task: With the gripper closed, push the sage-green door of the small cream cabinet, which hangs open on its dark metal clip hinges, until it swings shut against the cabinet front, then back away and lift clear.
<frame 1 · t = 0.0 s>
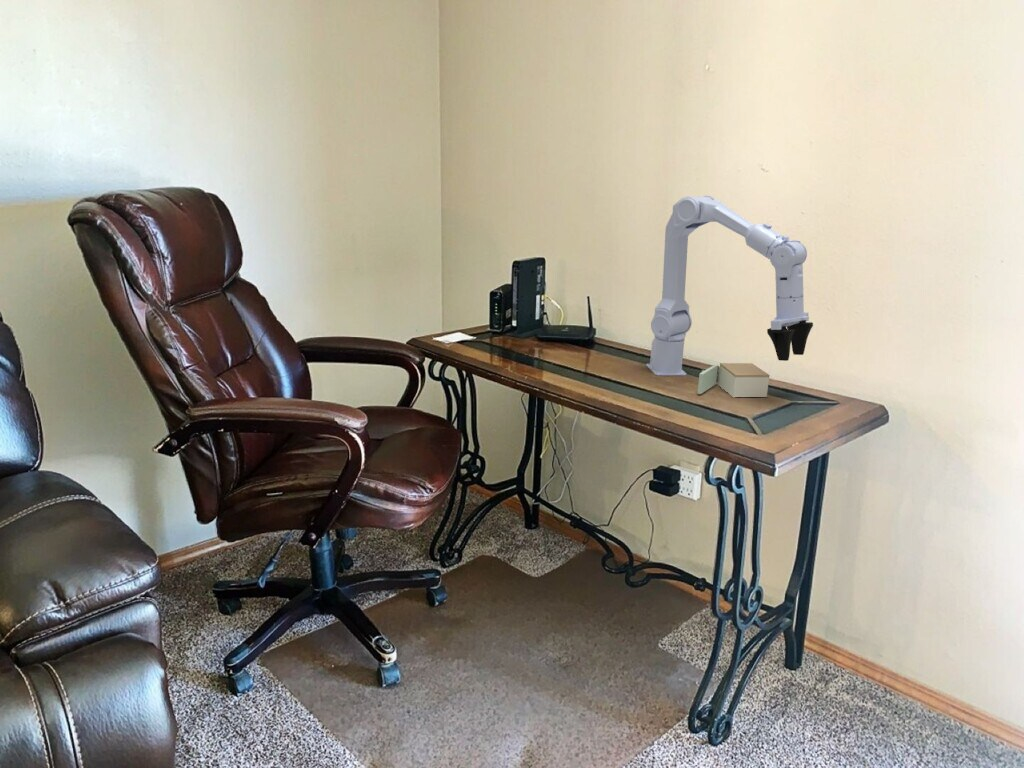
hand: (791, 357, 177), 10 cm above the table, tool pointing down, fingers open, 7 cm apart
door: (708, 378, 185), point 3 cm above the table, hinge at 40.0°
cabinet: (741, 391, 186), on the table
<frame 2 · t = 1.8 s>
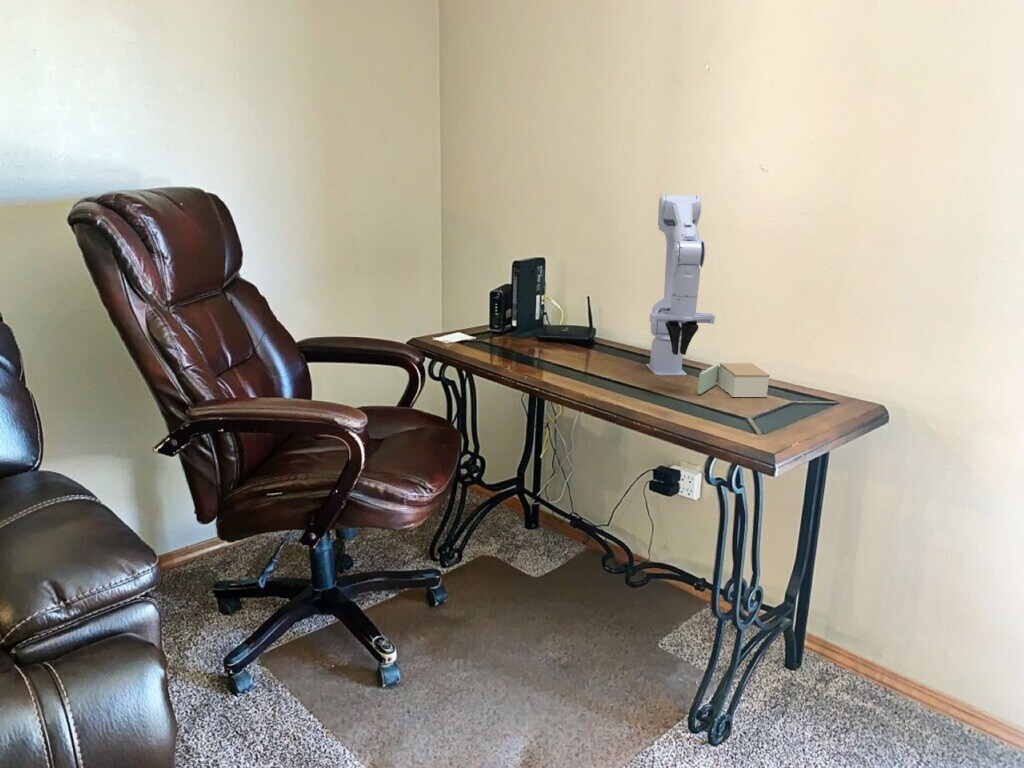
hand: (678, 353, 180), 9 cm above the table, tool pointing down, fingers closed
nothing on the table moved.
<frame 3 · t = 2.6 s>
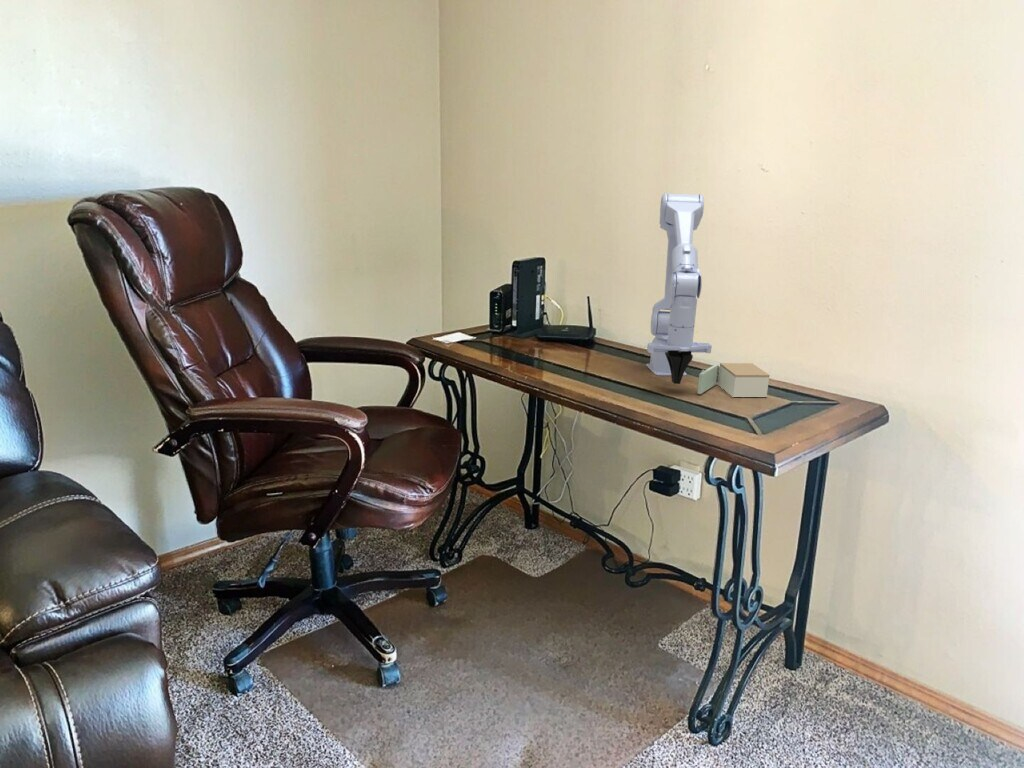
hand: (675, 382, 182), 2 cm above the table, tool pointing down, fingers closed
nothing on the table moved.
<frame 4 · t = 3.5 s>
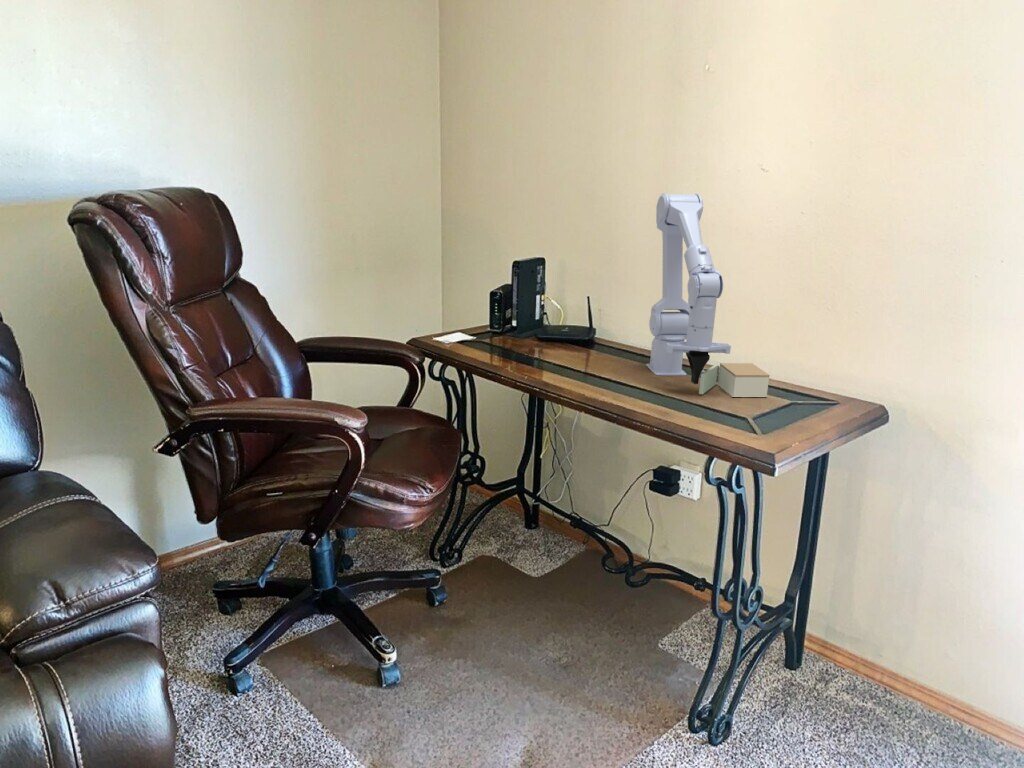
hand: (694, 382, 183), 2 cm above the table, tool pointing down, fingers closed
door: (709, 378, 185), point 3 cm above the table, hinge at 37.8°, touching gripper
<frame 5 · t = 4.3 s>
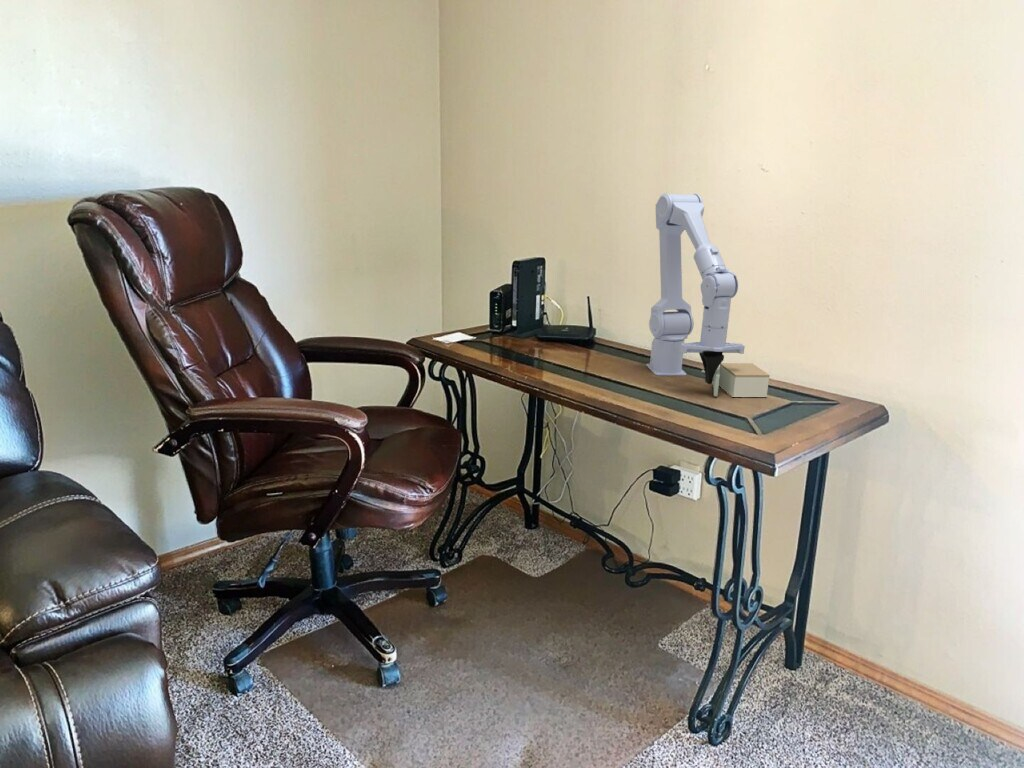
hand: (708, 382, 183), 2 cm above the table, tool pointing down, fingers closed
door: (716, 379, 185), point 3 cm above the table, hinge at 19.3°, touching gripper
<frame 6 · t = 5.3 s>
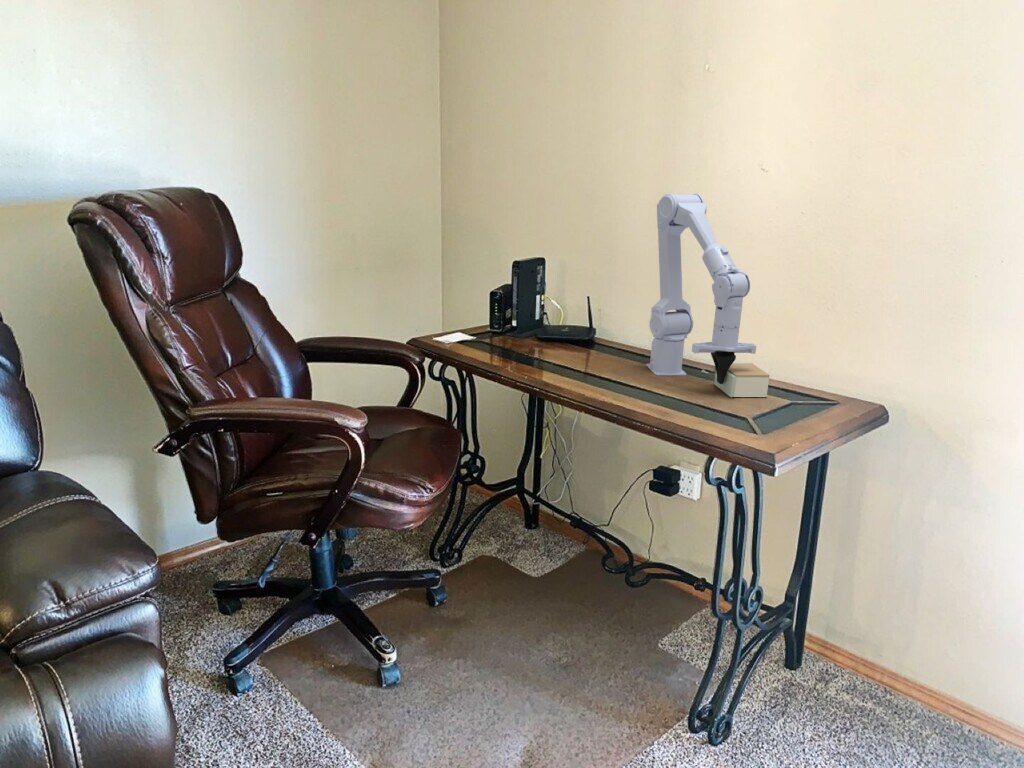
hand: (720, 382, 183), 2 cm above the table, tool pointing down, fingers closed
door: (724, 380, 185), point 3 cm above the table, hinge at -1.5°, touching gripper
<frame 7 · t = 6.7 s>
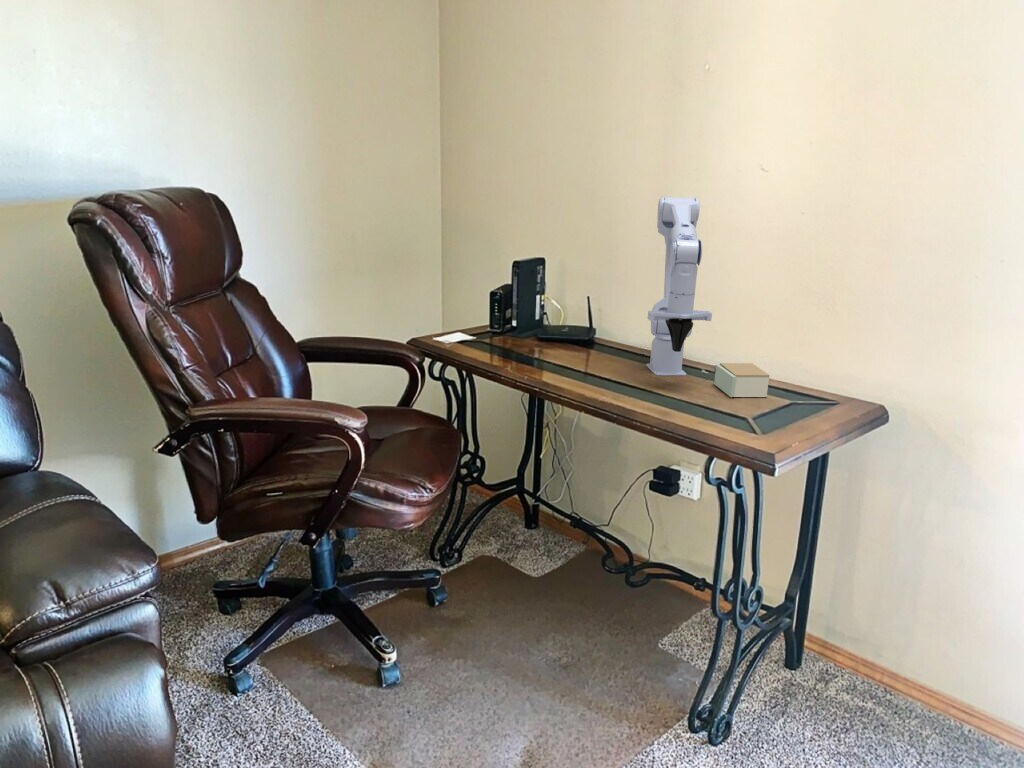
hand: (676, 350, 183), 9 cm above the table, tool pointing down, fingers closed
door: (724, 380, 185), point 3 cm above the table, hinge at -1.5°
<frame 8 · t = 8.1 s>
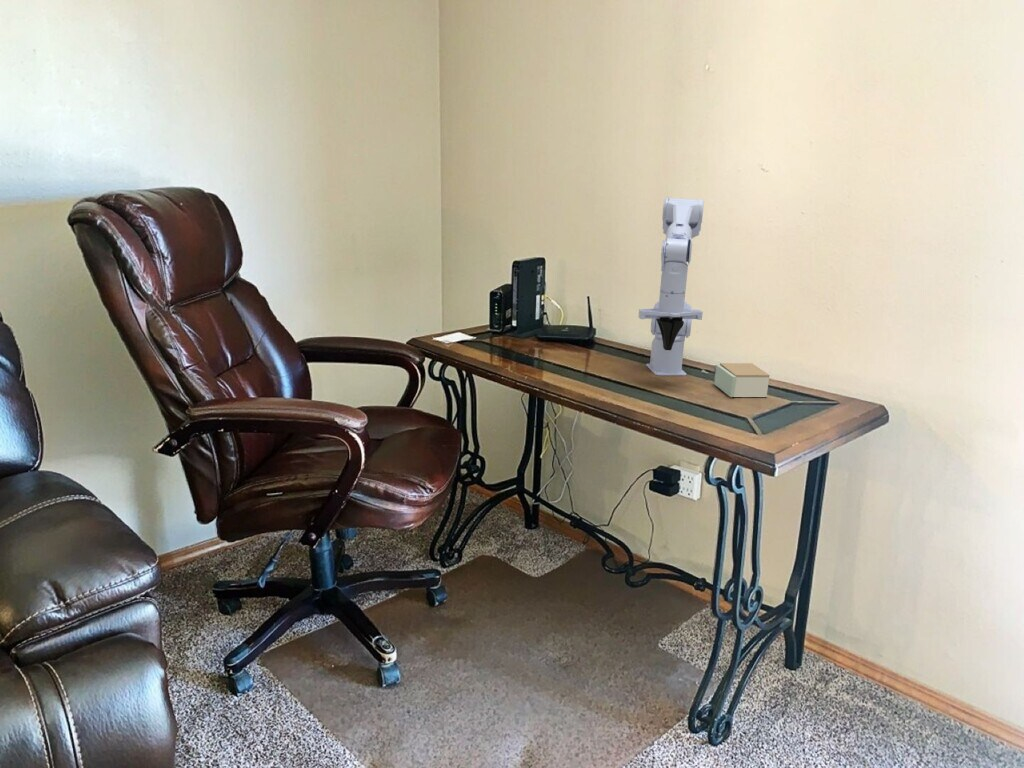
hand: (667, 349, 184), 9 cm above the table, tool pointing down, fingers closed
nothing on the table moved.
at the end: door at -2° (first picture: +40°) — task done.
